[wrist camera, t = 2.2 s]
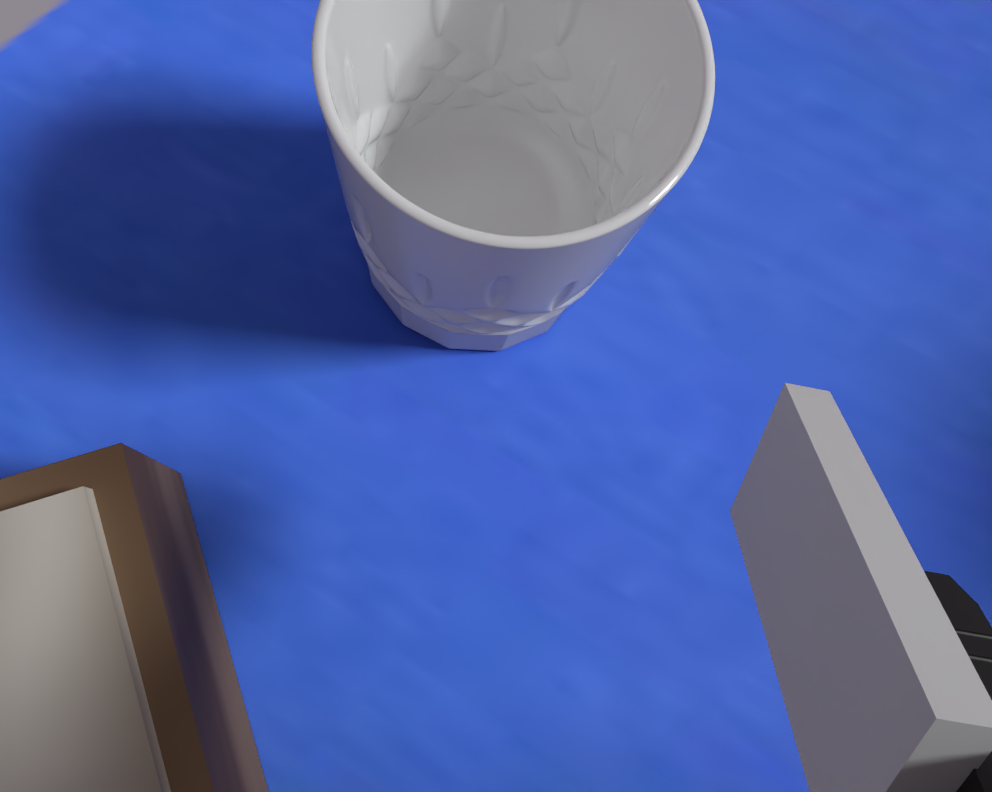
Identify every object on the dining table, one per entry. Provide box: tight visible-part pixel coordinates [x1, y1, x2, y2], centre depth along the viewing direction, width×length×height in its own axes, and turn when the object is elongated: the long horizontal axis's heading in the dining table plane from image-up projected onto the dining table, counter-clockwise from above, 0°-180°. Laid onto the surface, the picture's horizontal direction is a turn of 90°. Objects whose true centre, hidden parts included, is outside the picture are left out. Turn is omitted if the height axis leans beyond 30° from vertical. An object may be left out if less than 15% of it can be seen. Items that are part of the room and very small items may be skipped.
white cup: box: [312, 0, 715, 351], centre depth 22 cm, size 8×8×10 cm
